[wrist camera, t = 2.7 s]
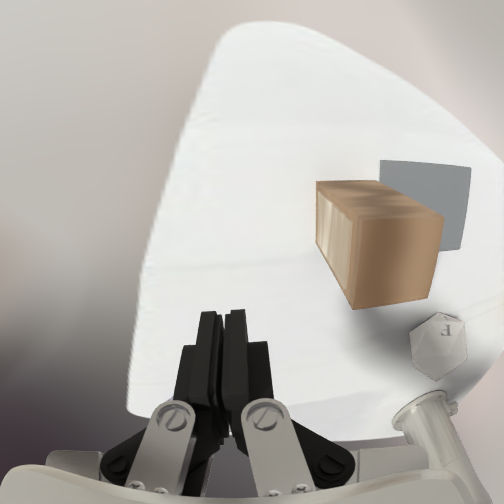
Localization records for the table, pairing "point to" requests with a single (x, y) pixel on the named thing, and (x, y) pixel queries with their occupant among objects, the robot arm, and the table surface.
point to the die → (438, 345)
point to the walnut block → (376, 241)
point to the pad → (433, 192)
